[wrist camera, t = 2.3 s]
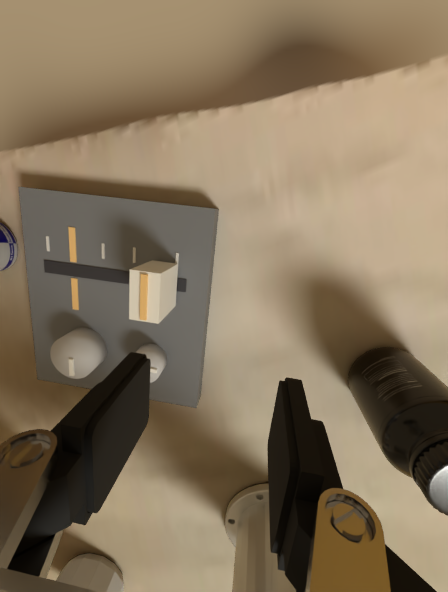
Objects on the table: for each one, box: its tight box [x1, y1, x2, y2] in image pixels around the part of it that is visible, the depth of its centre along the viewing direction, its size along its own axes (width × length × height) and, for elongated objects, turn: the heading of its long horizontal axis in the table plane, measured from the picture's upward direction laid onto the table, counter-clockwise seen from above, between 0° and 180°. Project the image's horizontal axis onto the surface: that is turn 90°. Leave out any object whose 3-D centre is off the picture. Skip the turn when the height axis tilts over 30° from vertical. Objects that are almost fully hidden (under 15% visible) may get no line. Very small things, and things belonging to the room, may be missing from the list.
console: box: [19, 187, 219, 408], centre depth 27 cm, size 18×20×5 cm
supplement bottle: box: [348, 347, 448, 515], centre depth 22 cm, size 7×7×12 cm
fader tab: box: [129, 260, 178, 324], centre depth 23 cm, size 2×4×5 cm, turn 174°
